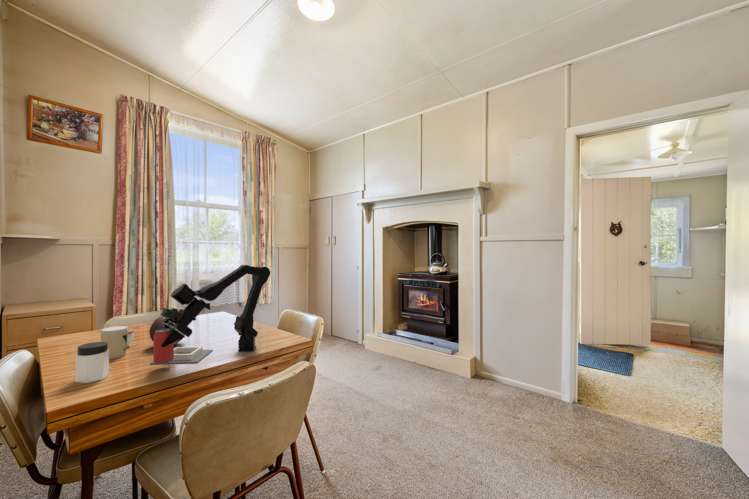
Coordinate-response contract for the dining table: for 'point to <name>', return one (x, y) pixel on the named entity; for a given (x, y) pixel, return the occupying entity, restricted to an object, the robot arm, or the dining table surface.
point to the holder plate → (187, 355)
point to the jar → (92, 362)
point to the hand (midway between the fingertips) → (159, 344)
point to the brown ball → (158, 327)
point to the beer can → (161, 352)
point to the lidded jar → (129, 336)
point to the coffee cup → (115, 340)
